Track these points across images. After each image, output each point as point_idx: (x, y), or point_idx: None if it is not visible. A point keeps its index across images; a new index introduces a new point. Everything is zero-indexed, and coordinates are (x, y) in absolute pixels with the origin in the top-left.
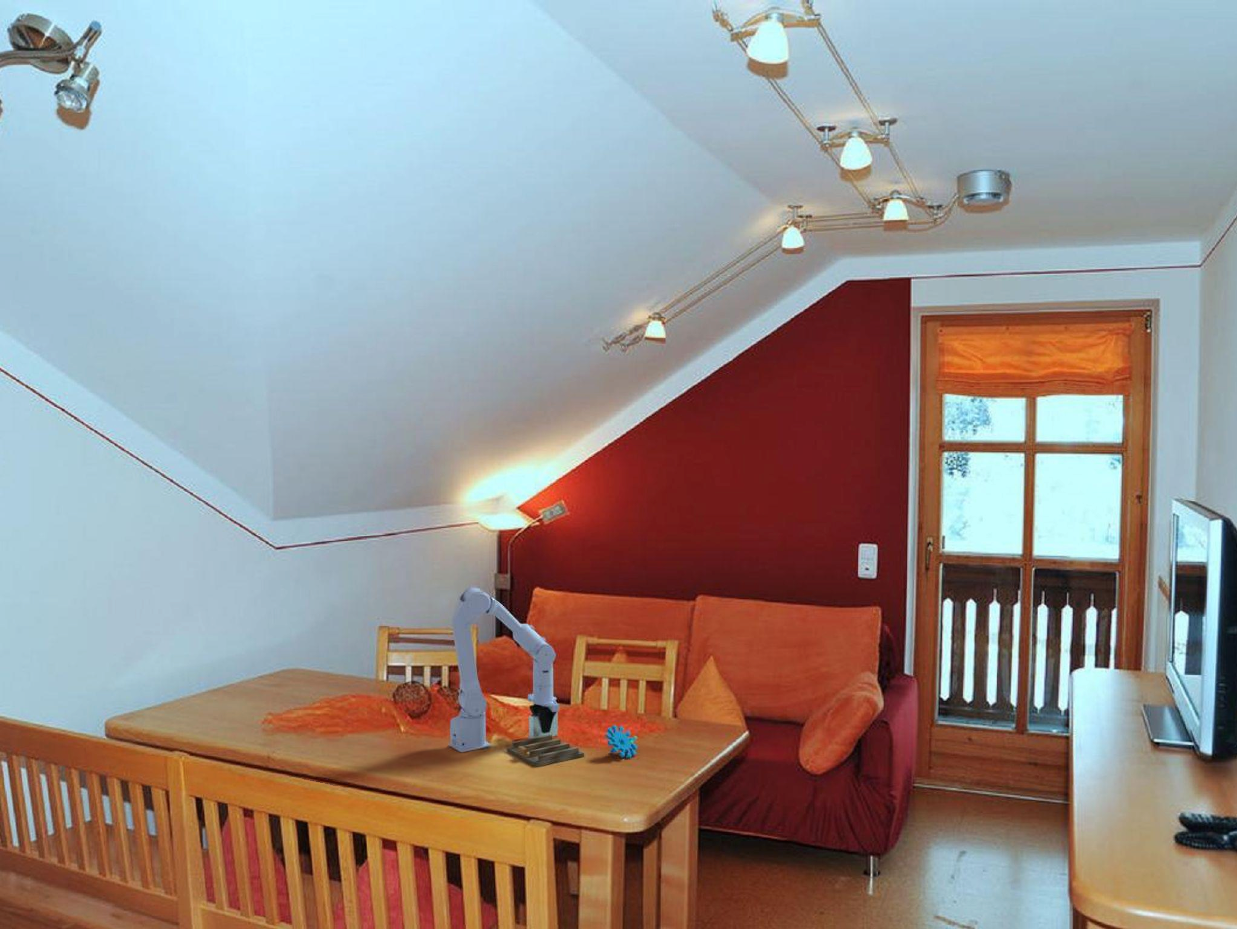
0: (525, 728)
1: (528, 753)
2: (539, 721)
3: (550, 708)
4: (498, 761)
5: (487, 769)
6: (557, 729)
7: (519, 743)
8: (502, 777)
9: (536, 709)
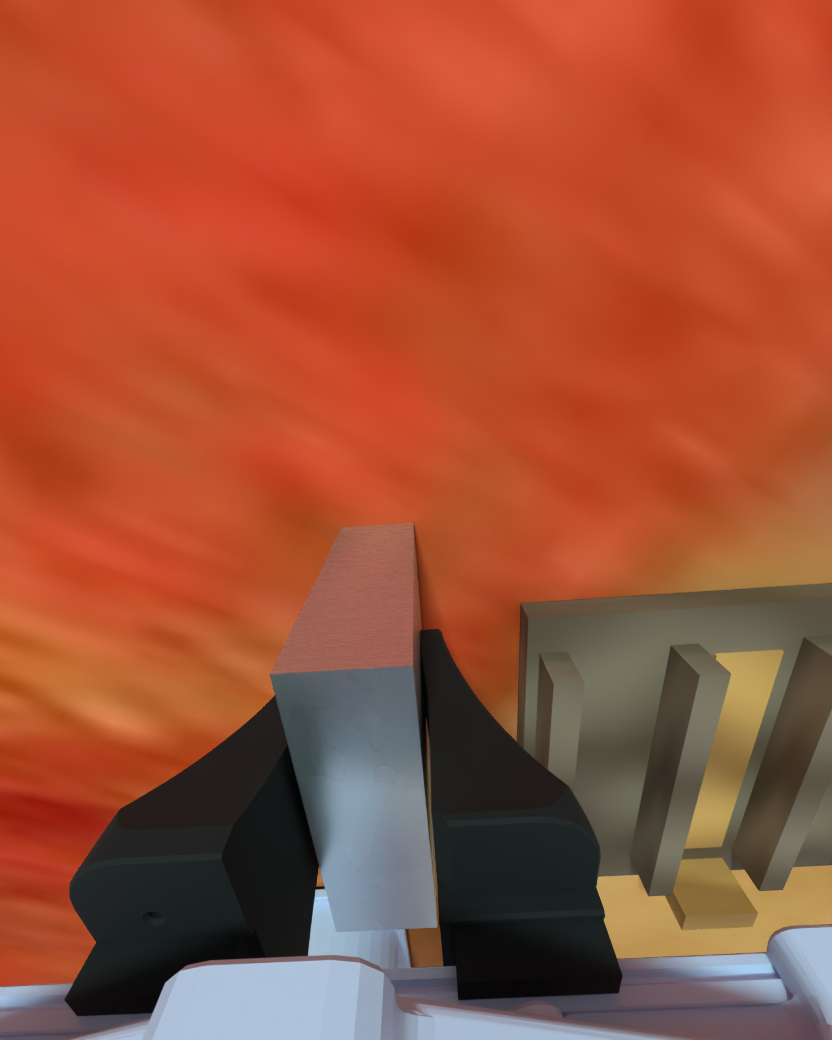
0: (101, 634)
1: (696, 844)
2: (430, 803)
3: (665, 1015)
4: (621, 915)
5: None
6: (413, 549)
7: None
8: None
9: (299, 938)
